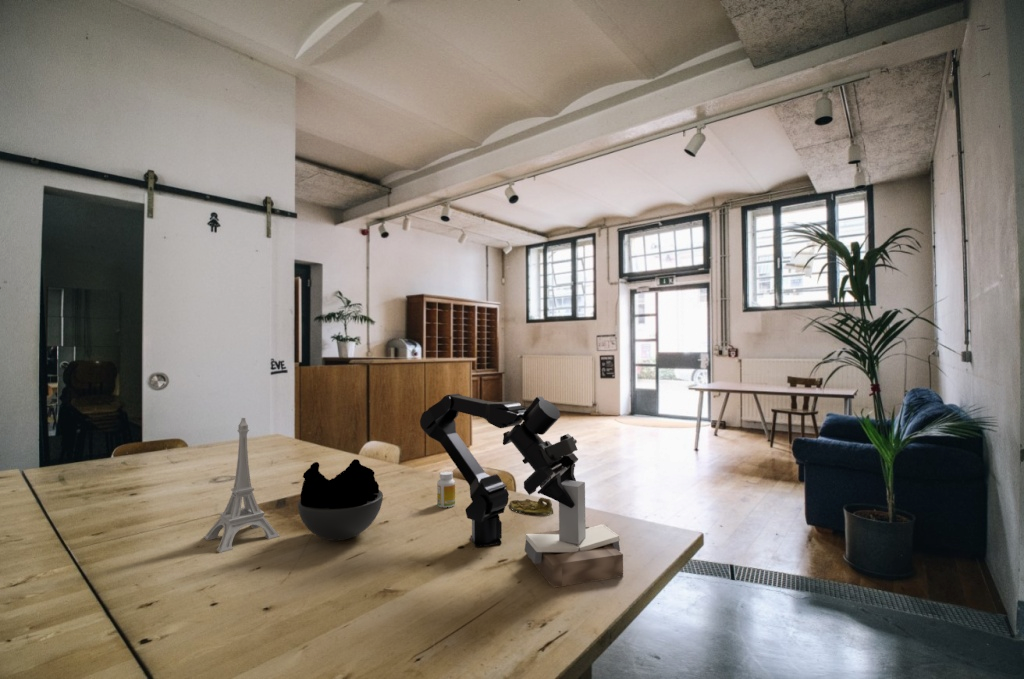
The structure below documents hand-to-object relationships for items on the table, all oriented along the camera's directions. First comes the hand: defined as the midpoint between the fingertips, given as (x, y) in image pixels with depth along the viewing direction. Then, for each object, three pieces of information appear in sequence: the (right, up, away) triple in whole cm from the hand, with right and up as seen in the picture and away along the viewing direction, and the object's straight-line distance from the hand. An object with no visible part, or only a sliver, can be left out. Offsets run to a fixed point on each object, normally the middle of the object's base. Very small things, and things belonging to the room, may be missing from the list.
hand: (577, 503), depth 102 cm
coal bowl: (-57, -14, +16) cm, 61 cm away
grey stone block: (-1, -8, 0) cm, 8 cm away
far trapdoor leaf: (+4, -11, +2) cm, 12 cm away
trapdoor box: (-1, -14, 0) cm, 13 cm away
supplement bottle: (-34, -15, +40) cm, 55 cm away
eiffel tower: (-82, -15, +17) cm, 85 cm away
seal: (-9, -15, +37) cm, 41 cm away
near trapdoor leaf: (-6, -11, -1) cm, 13 cm away
